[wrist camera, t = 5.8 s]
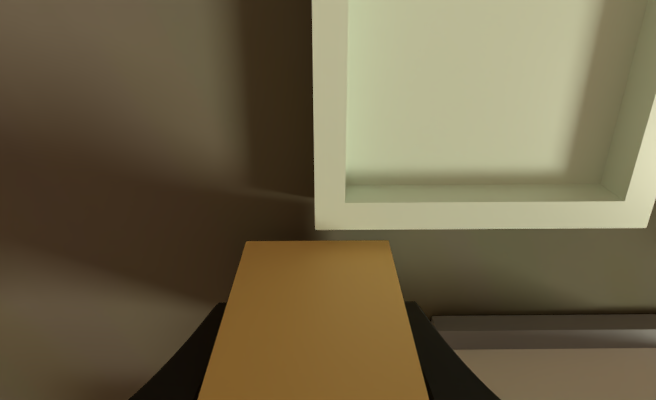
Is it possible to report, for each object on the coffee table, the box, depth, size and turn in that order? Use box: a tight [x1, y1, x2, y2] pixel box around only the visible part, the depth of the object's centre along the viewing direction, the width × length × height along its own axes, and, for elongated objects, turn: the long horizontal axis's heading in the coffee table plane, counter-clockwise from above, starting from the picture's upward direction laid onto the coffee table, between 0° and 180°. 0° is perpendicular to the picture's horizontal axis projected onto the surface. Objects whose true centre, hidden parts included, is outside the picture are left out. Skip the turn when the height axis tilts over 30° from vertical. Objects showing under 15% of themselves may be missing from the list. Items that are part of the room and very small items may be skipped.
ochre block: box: [197, 240, 429, 400], centre depth 11 cm, size 4×4×6 cm
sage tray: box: [312, 0, 656, 230], centre depth 12 cm, size 9×9×2 cm
